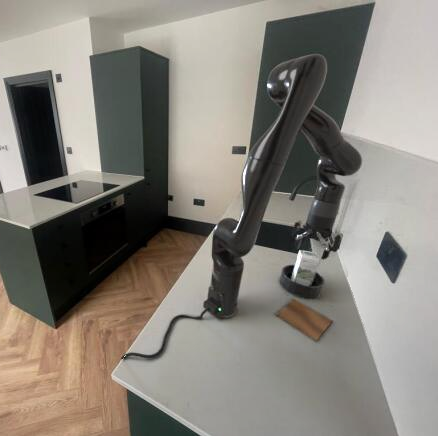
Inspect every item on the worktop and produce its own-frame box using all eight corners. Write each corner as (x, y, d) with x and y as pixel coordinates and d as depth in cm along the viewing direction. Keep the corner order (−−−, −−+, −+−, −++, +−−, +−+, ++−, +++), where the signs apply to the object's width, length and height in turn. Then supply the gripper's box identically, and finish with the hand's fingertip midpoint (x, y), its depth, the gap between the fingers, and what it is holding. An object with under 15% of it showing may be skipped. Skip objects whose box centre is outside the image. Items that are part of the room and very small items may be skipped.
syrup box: (306, 283, 91) (317, 251, 85) (309, 292, 86) (320, 260, 80) (290, 279, 93) (299, 248, 87) (291, 288, 88) (301, 256, 82)
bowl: (310, 305, 81) (314, 293, 79) (272, 284, 91) (275, 273, 89) (326, 289, 88) (330, 277, 86) (289, 271, 98) (292, 260, 96)
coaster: (316, 341, 68) (316, 340, 68) (276, 315, 77) (276, 314, 77) (332, 321, 75) (332, 320, 74) (293, 299, 84) (293, 299, 83)
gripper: (295, 208, 80) (284, 248, 87) (344, 222, 69) (328, 266, 76) (304, 203, 84) (294, 242, 91) (353, 216, 73) (337, 258, 80)
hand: (309, 253), depth 83 cm, fingers open, 8 cm apart
